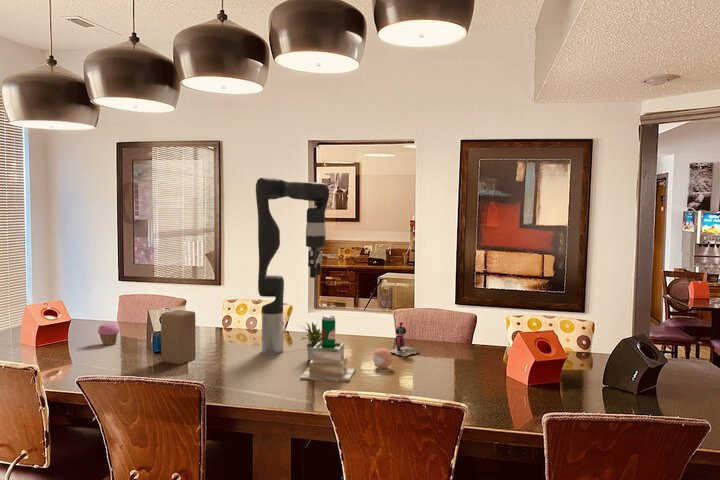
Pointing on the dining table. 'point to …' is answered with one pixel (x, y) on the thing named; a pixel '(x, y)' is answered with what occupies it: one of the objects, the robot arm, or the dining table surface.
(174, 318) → the block
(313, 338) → the house plant
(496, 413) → the dining table surface
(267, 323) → the robot arm
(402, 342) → the statue
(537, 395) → the dining table surface
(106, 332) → the cupcake
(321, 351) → the tower base
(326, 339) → the soda can
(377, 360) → the toy ball
